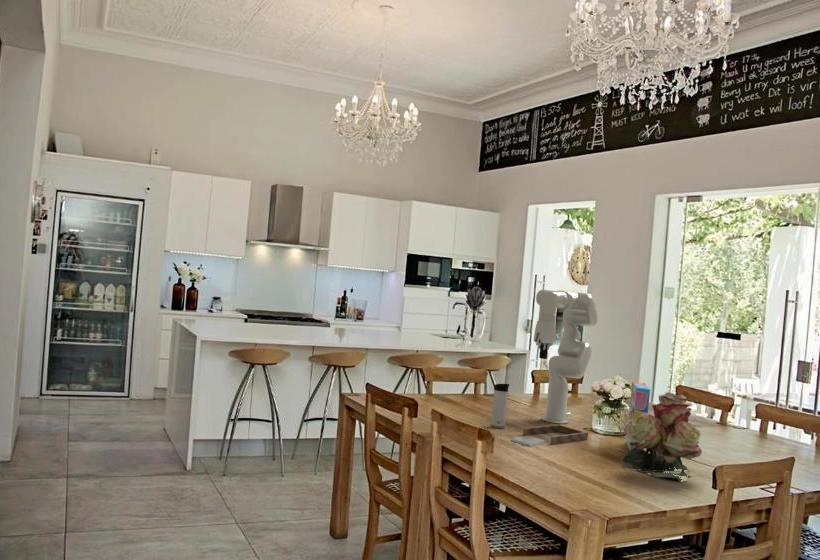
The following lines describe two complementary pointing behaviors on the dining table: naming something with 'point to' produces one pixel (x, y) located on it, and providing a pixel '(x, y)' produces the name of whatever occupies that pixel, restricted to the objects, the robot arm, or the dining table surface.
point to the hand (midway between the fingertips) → (543, 358)
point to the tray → (556, 434)
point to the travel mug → (499, 405)
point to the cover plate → (528, 440)
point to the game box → (637, 404)
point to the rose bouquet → (663, 438)
